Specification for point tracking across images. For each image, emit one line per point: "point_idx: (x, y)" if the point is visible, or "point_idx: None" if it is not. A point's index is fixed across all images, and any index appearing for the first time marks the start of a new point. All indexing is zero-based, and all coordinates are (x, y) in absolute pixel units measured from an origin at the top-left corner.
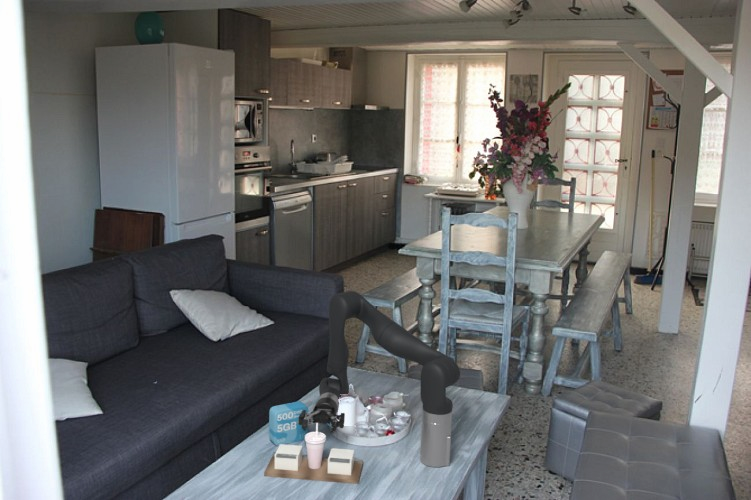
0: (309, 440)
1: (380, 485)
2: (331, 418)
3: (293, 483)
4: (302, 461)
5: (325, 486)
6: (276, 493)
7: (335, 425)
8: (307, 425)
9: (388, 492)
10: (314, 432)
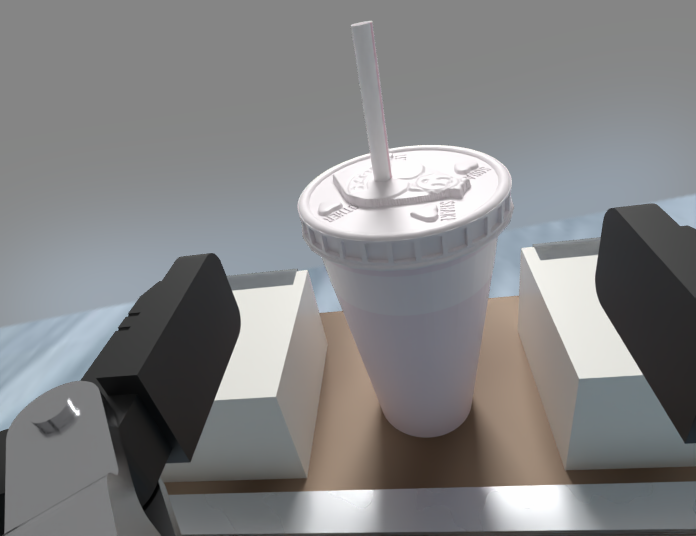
0: (434, 147)
1: (76, 353)
2: (115, 476)
3: (498, 284)
4: (545, 438)
5: (336, 297)
6: (535, 225)
7: (132, 321)
8: (680, 410)
9: (70, 318)
10: (431, 225)
